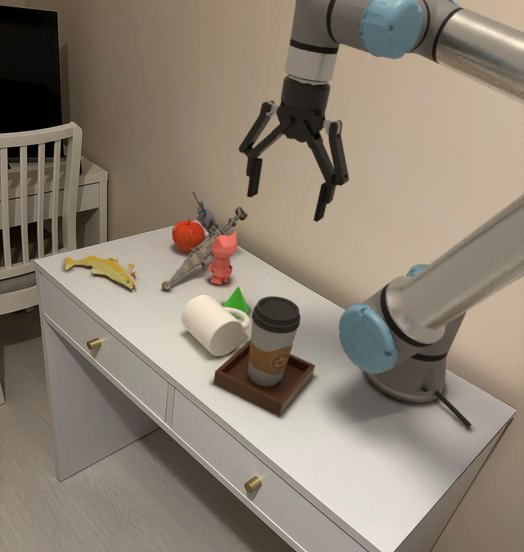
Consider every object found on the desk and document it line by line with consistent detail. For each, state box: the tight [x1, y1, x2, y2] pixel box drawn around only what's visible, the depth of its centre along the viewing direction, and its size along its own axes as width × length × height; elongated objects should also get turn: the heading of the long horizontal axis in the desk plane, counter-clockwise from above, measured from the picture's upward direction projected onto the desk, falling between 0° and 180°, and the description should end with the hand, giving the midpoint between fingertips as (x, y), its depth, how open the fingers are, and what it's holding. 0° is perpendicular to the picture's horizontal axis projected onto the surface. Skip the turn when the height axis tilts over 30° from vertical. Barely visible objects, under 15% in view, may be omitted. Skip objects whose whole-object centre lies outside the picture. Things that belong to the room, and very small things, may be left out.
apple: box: [171, 218, 206, 253], centre depth 134 cm, size 8×8×8 cm
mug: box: [180, 294, 251, 357], centre depth 107 cm, size 12×10×8 cm
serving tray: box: [213, 339, 316, 417], centre depth 100 cm, size 14×14×3 cm
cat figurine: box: [207, 230, 239, 285], centre depth 123 cm, size 7×7×12 cm
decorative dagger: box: [161, 206, 249, 291], centre depth 127 cm, size 7×2×30 cm
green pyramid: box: [222, 285, 249, 318], centre depth 117 cm, size 6×6×6 cm
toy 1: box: [64, 253, 138, 290], centre depth 121 cm, size 20×3×10 cm
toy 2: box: [192, 190, 217, 231], centre depth 136 cm, size 15×4×15 cm
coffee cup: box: [248, 296, 301, 387], centre depth 96 cm, size 8×8×15 cm
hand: (284, 207), depth 99 cm, fingers open, 13 cm apart
